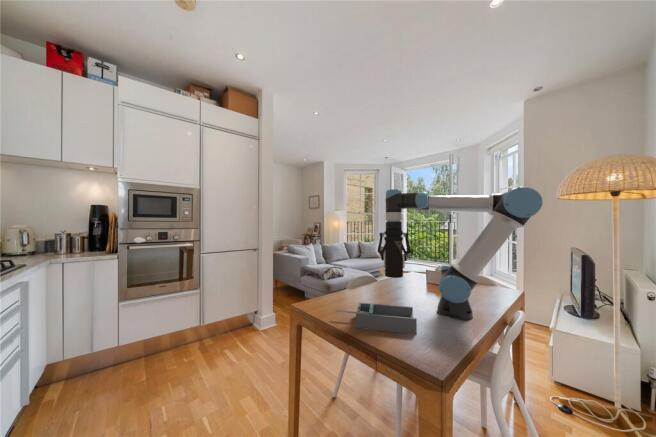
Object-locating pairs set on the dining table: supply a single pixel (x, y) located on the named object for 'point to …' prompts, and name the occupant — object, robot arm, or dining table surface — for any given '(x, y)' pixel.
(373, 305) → the pusher
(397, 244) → the container
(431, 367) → the dining table surface
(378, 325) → the grey shallow rectangular box
